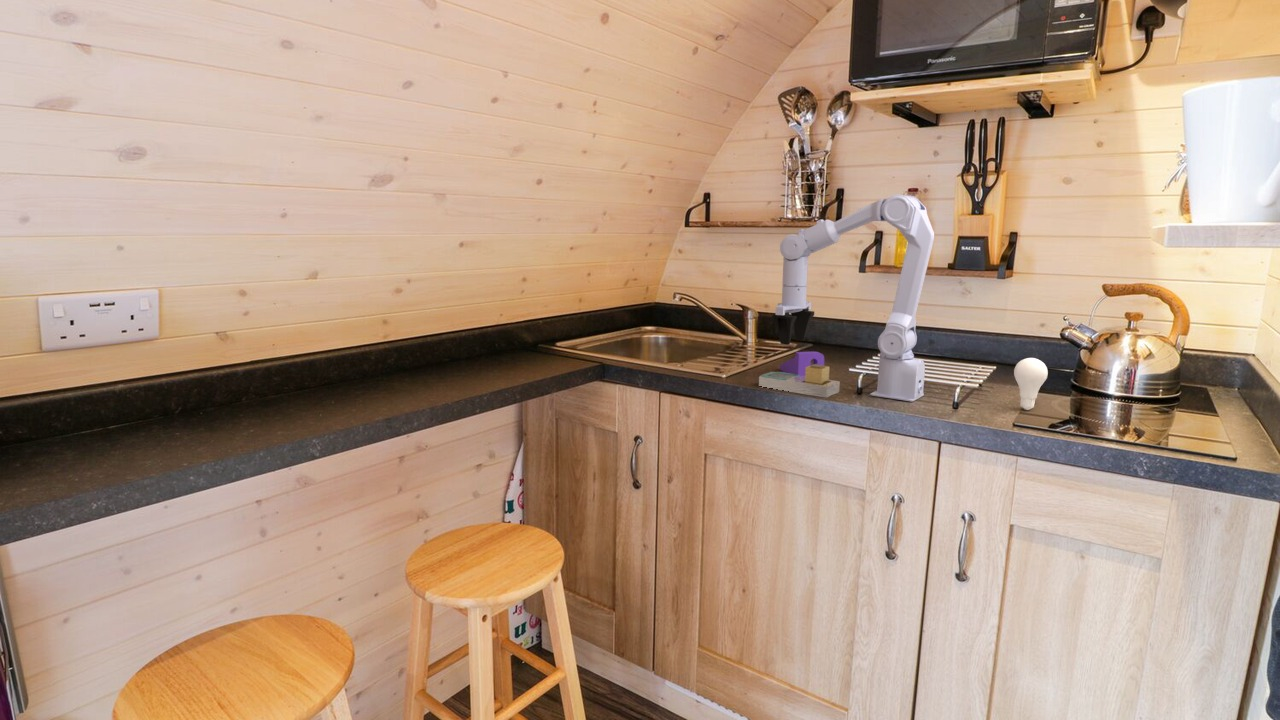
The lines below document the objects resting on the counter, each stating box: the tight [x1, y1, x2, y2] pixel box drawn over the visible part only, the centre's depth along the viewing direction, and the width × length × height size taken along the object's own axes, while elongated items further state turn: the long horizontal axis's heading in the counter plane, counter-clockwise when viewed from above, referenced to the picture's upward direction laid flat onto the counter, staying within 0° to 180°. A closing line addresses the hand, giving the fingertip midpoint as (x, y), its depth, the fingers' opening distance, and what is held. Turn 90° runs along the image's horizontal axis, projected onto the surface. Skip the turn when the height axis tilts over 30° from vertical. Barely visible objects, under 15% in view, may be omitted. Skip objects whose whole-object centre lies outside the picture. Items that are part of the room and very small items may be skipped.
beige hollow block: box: [805, 364, 830, 385], centre depth 163 cm, size 4×4×6 cm
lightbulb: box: [1013, 357, 1049, 411], centre depth 147 cm, size 6×6×11 cm
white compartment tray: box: [758, 371, 841, 399], centre depth 166 cm, size 17×7×3 cm, turn 51°
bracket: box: [779, 351, 825, 376], centre depth 183 cm, size 12×7×7 cm, turn 11°
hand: (792, 342), depth 172 cm, fingers open, 7 cm apart
